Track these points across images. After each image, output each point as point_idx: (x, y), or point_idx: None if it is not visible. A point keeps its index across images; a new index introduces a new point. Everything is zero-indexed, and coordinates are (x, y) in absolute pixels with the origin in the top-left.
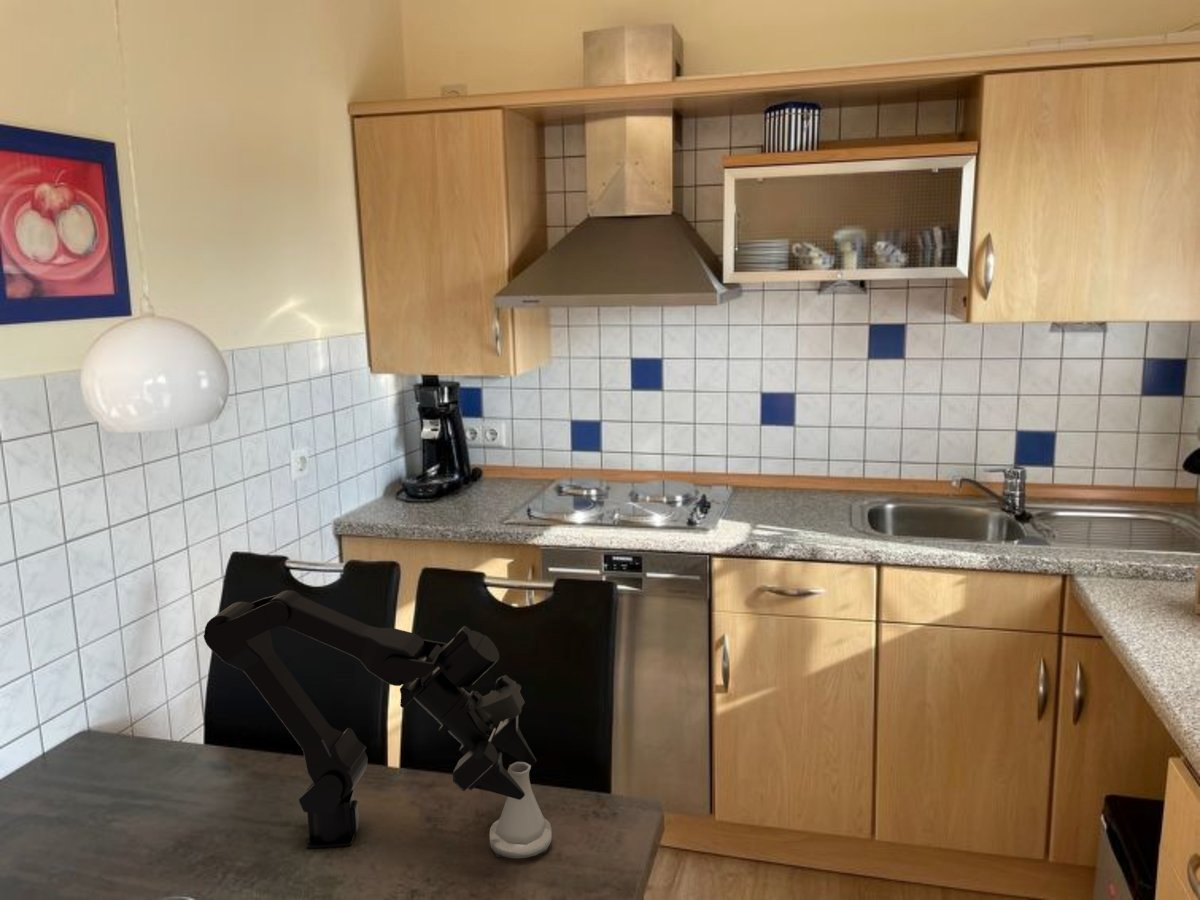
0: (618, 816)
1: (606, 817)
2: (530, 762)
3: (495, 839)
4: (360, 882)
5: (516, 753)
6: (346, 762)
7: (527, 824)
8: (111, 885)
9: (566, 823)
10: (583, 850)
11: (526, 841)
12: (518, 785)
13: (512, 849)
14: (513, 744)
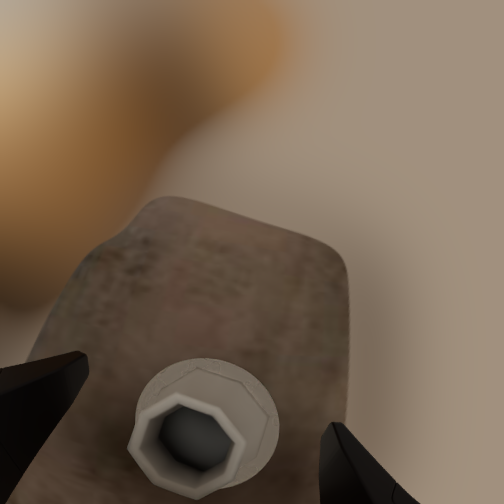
0: (155, 237)
1: (152, 255)
2: (82, 374)
3: (237, 479)
4: None
5: (46, 420)
6: None
7: (256, 414)
8: None
9: (149, 326)
10: (242, 308)
11: (268, 416)
12: (348, 448)
13: (276, 444)
14: (16, 427)
